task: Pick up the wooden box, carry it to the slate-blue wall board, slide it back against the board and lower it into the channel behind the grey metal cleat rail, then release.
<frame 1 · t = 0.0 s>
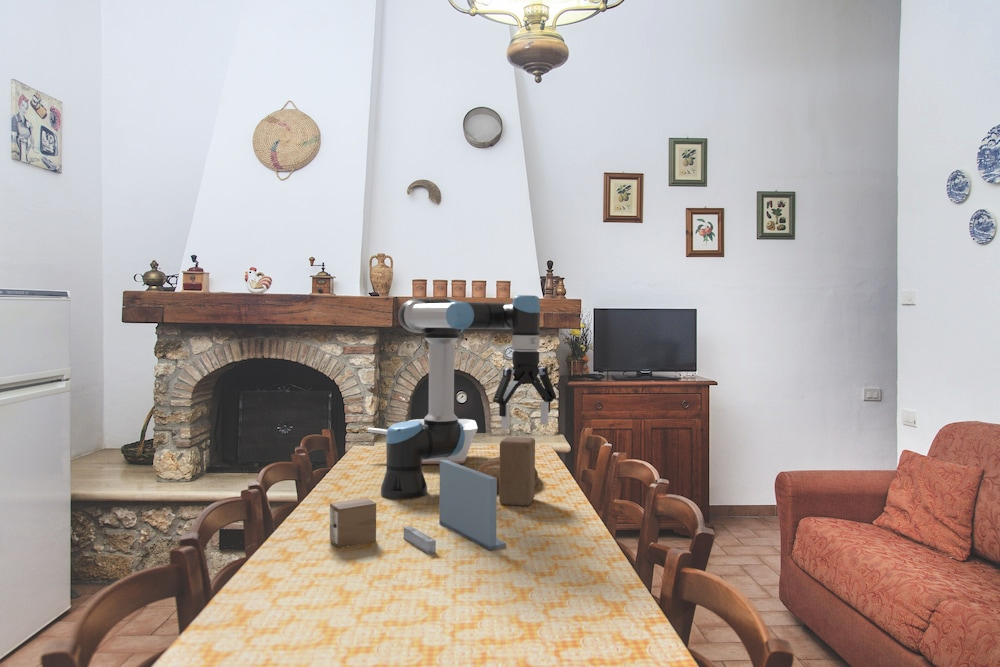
hand: (525, 426, 187), 28 cm above the table, fingers open, 13 cm apart
pot: (422, 461, 273), on the table
bread: (507, 483, 238), on the table
wall board: (466, 535, 178), on the table
cleat rail: (419, 545, 170), on the table
wooden block: (517, 502, 212), on the table
wooden box: (353, 541, 173), on the table
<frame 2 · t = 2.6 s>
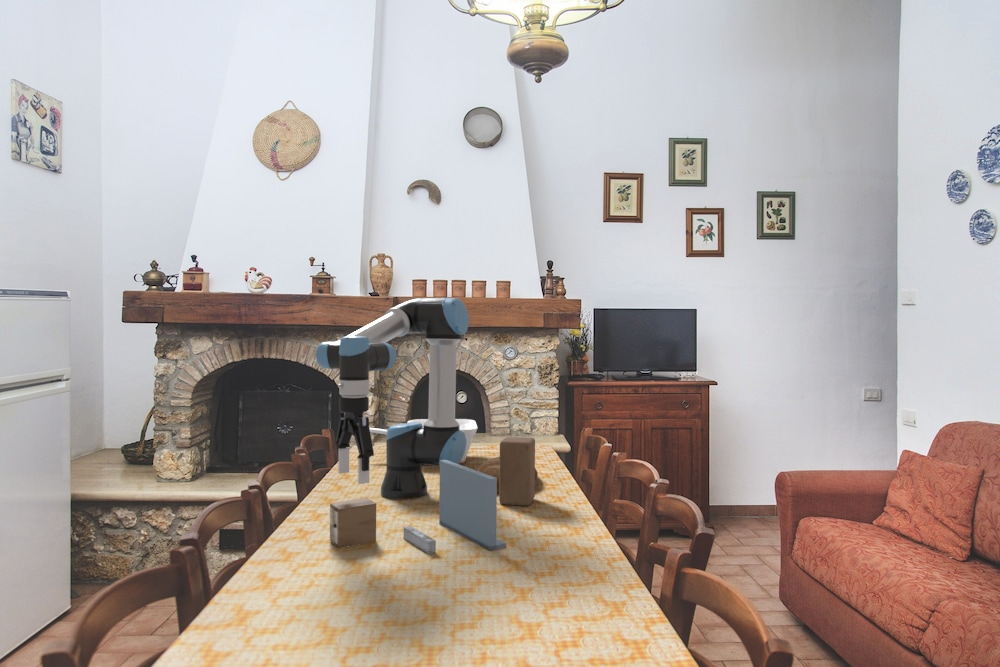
hand: (353, 478, 172), 16 cm above the table, fingers open, 13 cm apart
nothing on the table moved.
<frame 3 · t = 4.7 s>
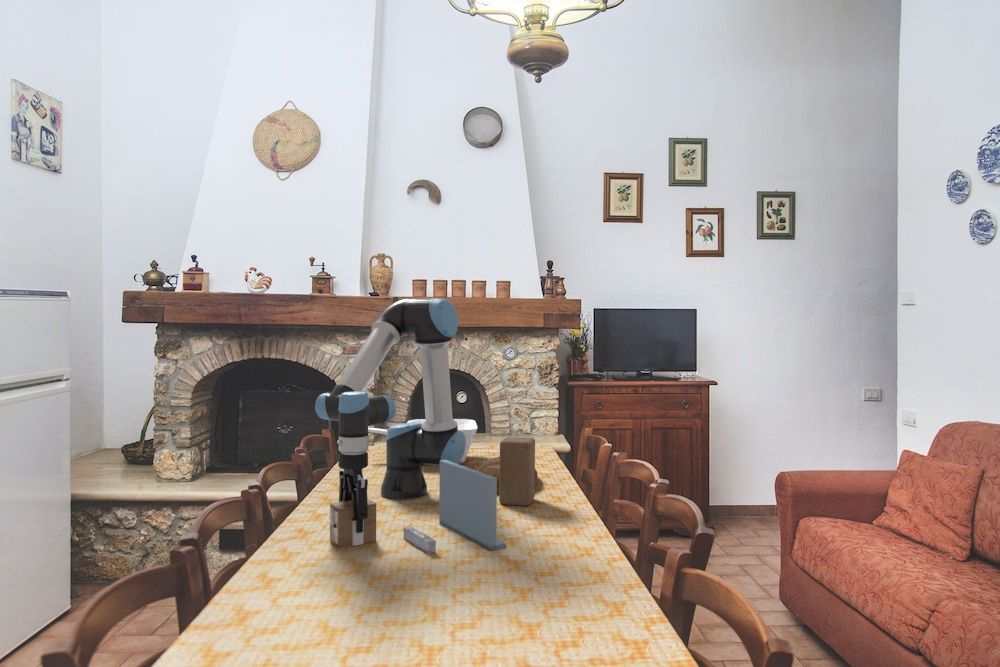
hand: (352, 540, 173), 0 cm above the table, fingers open, 7 cm apart
wooden box: (353, 541, 173), on the table, touching gripper
everything else where it was.
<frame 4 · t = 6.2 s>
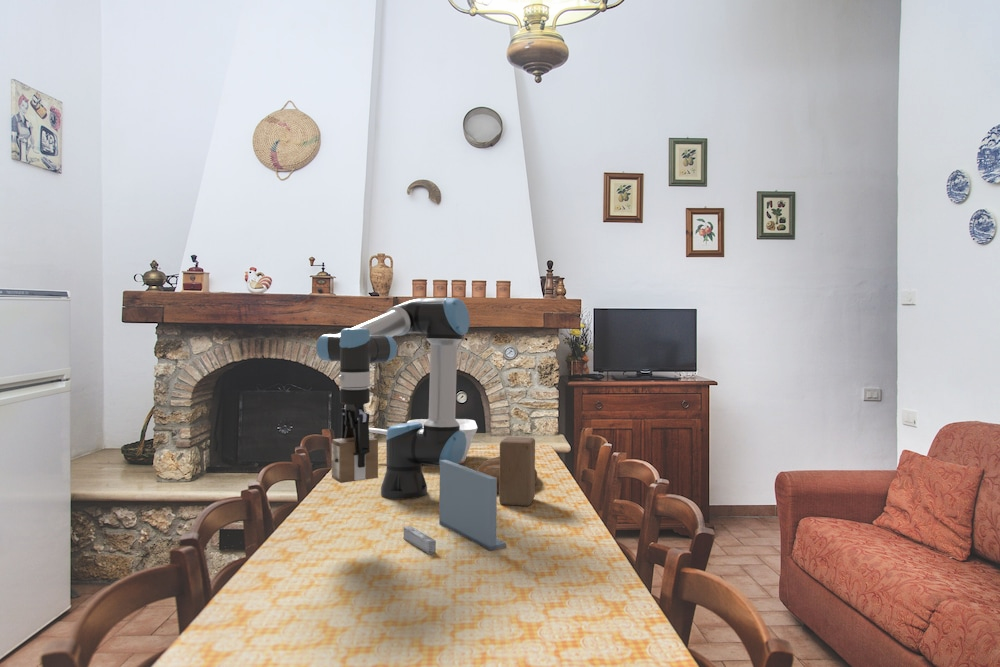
hand: (354, 476, 173), 17 cm above the table, fingers closed on wooden box, 6 cm apart
wooden box: (354, 477, 173), point 17 cm above the table, touching gripper
everything else where it was.
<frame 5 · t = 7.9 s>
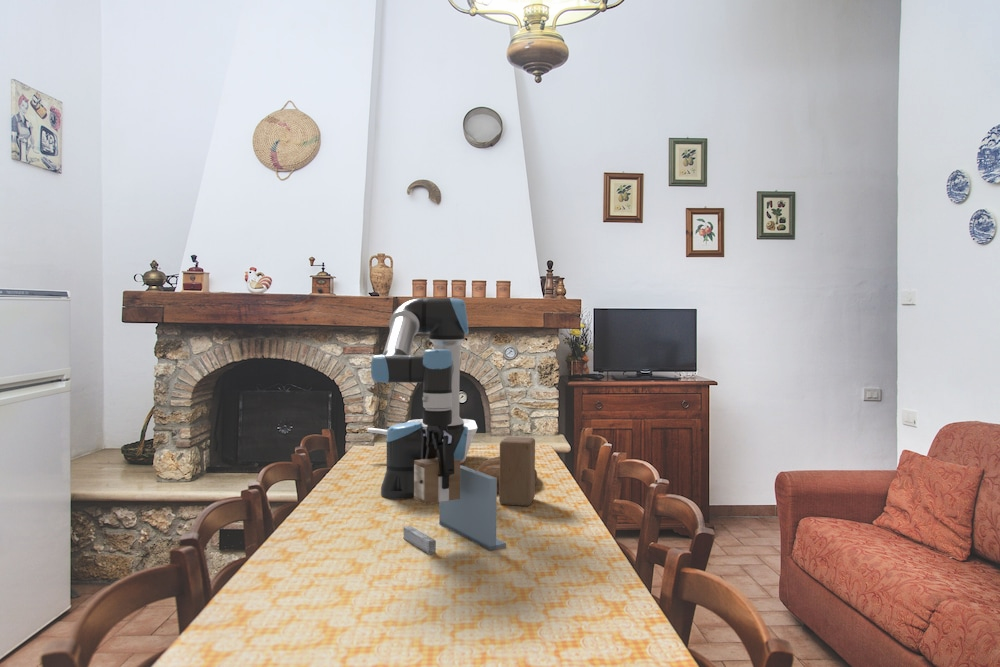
hand: (436, 497, 173), 12 cm above the table, fingers closed on wooden box, 6 cm apart
wooden box: (437, 498, 173), point 11 cm above the table, touching gripper
everything else where it was.
when the fingers open (2 cm above the table, at t = 10.5 s): wooden box drops 1 cm, on the table.
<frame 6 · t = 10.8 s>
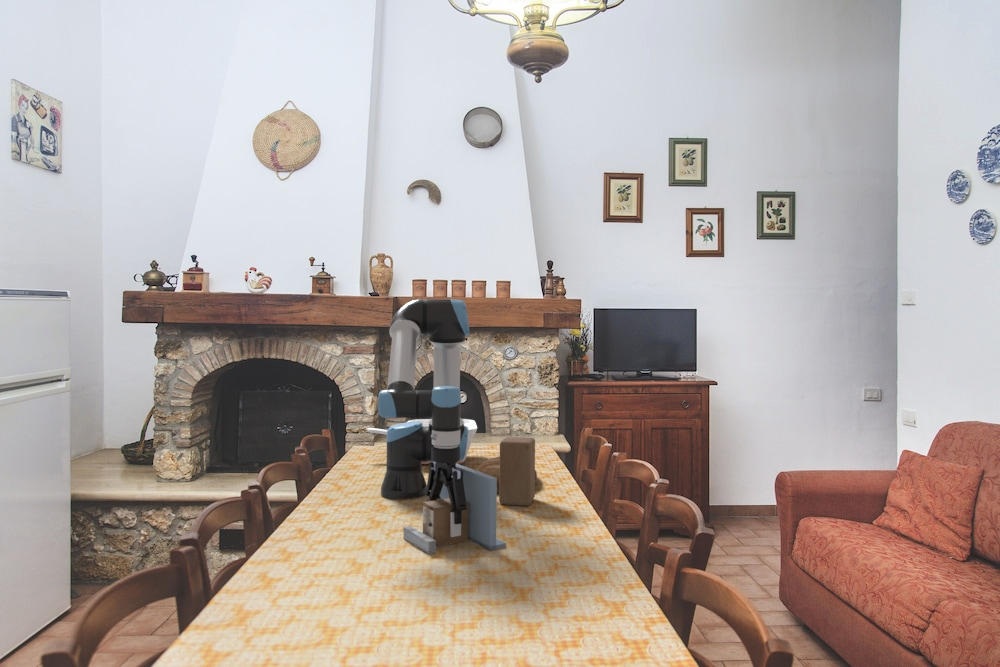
hand: (445, 530, 174), 3 cm above the table, fingers open, 10 cm apart
wooden box: (445, 540, 175), on the table
everything else where it was.
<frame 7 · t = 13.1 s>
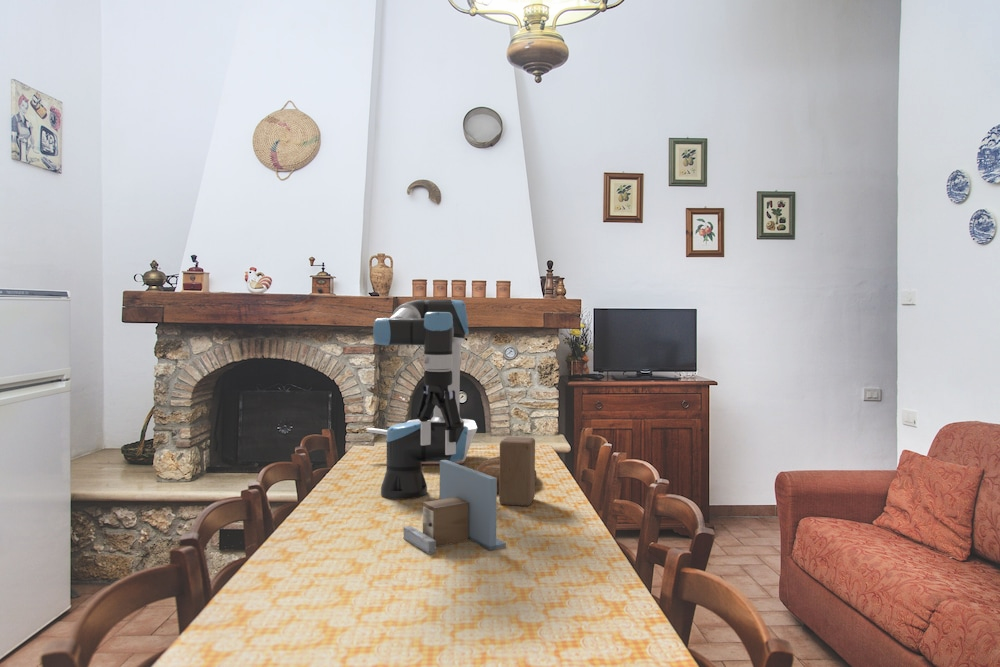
hand: (437, 449, 178), 23 cm above the table, fingers open, 13 cm apart
nothing on the table moved.
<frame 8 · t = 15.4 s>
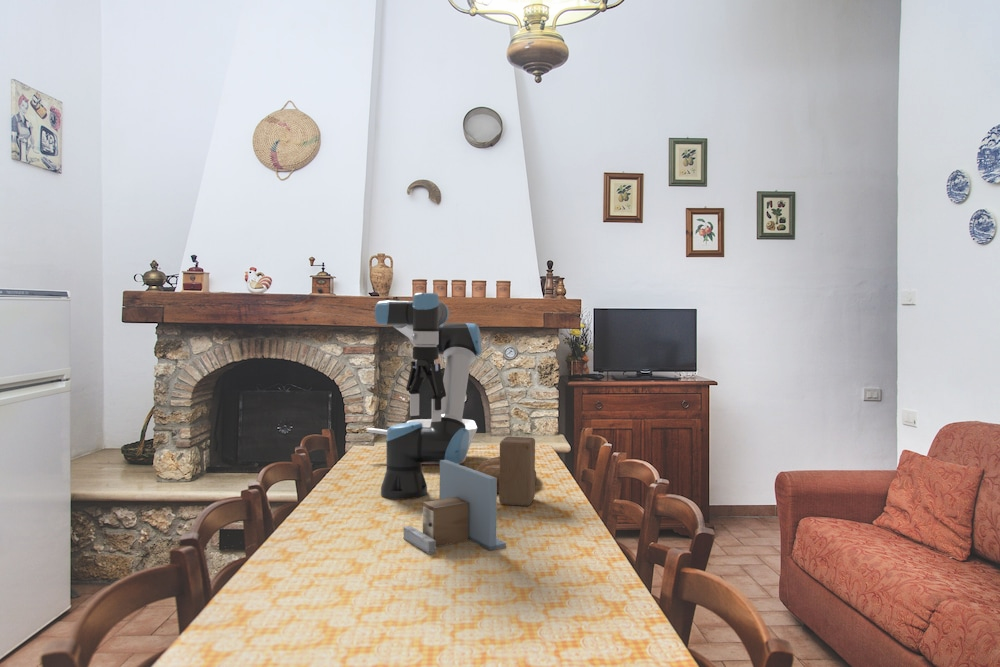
hand: (425, 418, 195), 29 cm above the table, fingers open, 13 cm apart
nothing on the table moved.
at the end: wooden box inside the target area (0.7 cm from its centre), on the table; wooden box tilted 0°; the gripper is holding nothing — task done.
